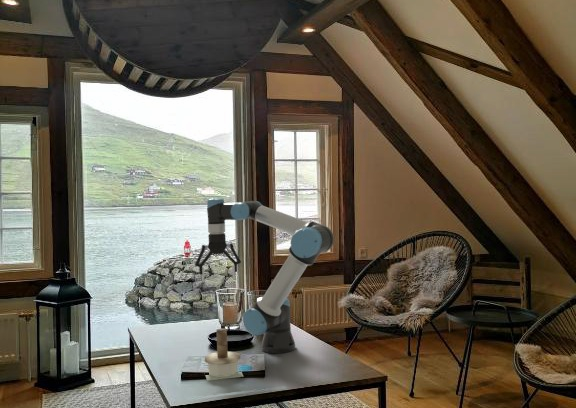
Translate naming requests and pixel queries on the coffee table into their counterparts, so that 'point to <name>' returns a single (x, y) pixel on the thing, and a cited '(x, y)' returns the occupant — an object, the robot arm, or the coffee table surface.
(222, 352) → the lid
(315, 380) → the coffee table surface
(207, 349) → the coffee table surface
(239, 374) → the mat
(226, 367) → the bowl
